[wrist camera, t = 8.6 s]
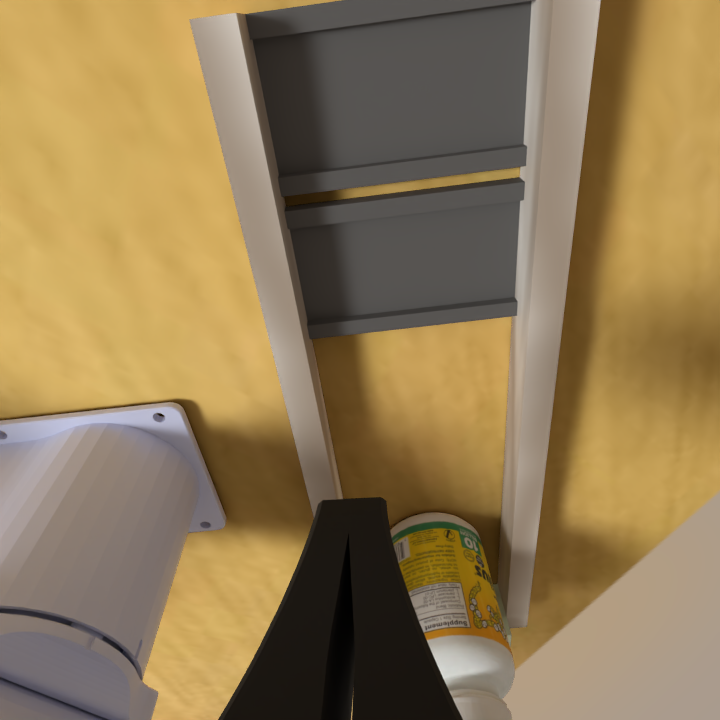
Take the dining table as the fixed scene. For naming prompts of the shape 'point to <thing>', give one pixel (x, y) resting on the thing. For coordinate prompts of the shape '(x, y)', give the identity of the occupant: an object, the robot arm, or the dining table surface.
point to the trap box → (533, 272)
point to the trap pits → (398, 155)
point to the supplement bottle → (457, 610)
